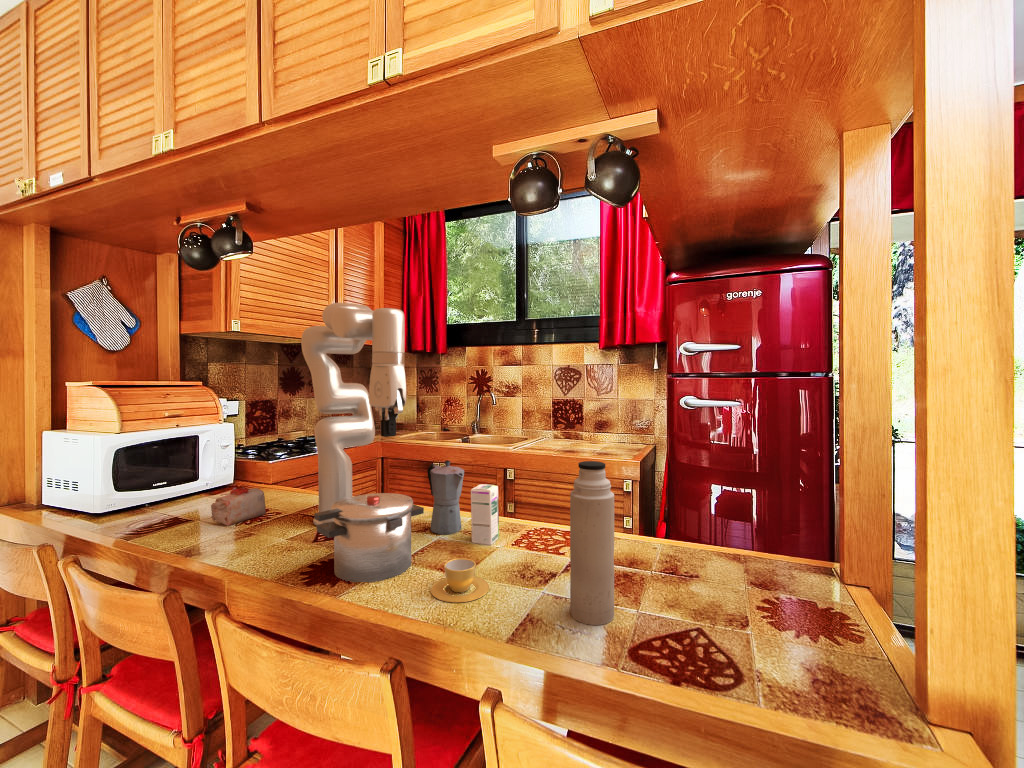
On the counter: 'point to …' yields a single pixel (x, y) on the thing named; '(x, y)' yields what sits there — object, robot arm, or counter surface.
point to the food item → (238, 506)
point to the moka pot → (445, 497)
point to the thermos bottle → (592, 546)
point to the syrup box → (485, 514)
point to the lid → (368, 508)
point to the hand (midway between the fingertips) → (388, 435)
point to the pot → (371, 547)
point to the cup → (460, 581)
